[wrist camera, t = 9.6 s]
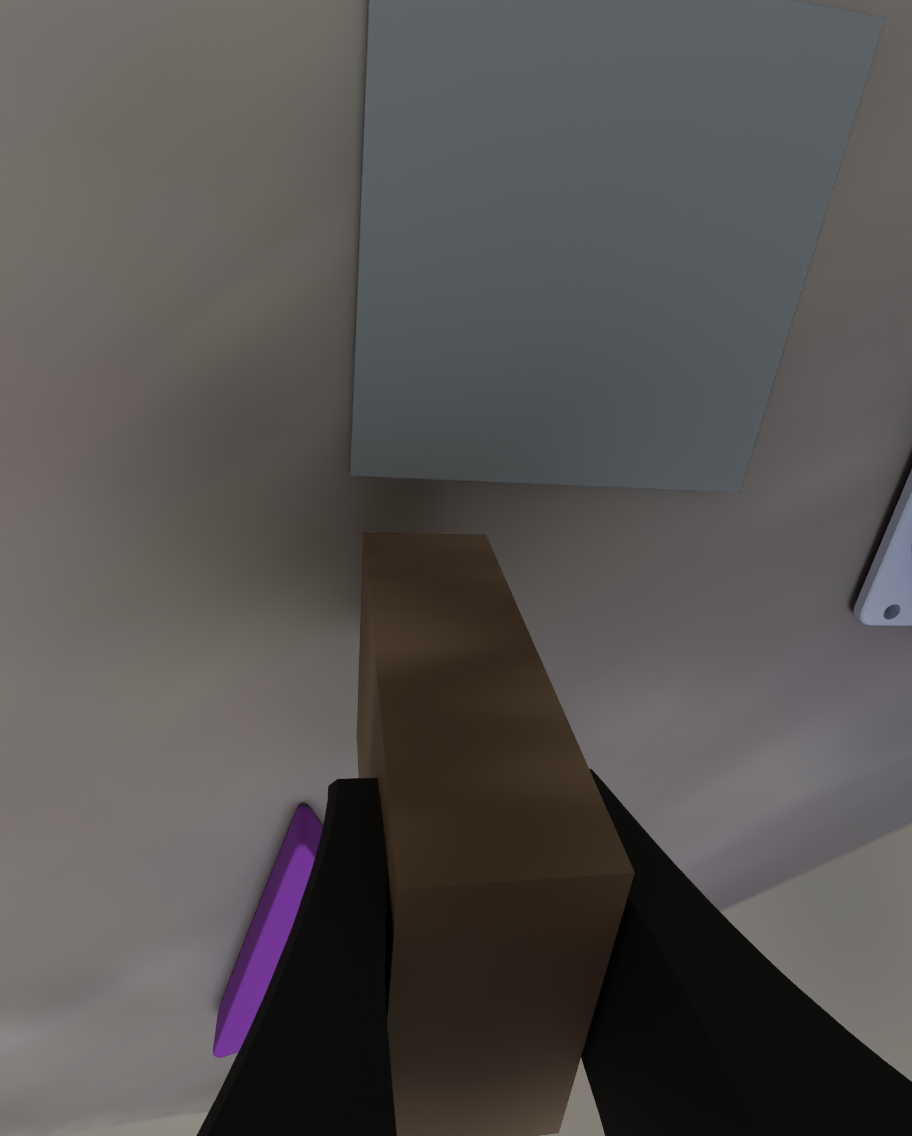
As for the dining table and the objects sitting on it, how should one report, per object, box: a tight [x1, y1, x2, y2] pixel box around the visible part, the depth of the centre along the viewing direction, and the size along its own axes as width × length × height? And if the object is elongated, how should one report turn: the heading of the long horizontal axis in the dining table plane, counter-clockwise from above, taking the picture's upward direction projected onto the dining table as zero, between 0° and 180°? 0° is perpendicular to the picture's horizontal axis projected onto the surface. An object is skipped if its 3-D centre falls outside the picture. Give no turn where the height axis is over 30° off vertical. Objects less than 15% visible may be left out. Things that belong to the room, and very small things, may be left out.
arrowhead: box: [213, 805, 323, 1057], centre depth 24 cm, size 10×2×10 cm
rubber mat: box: [350, 0, 885, 493], centre depth 16 cm, size 10×10×1 cm
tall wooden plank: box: [357, 533, 635, 1136], centre depth 12 cm, size 2×5×8 cm, turn 175°
